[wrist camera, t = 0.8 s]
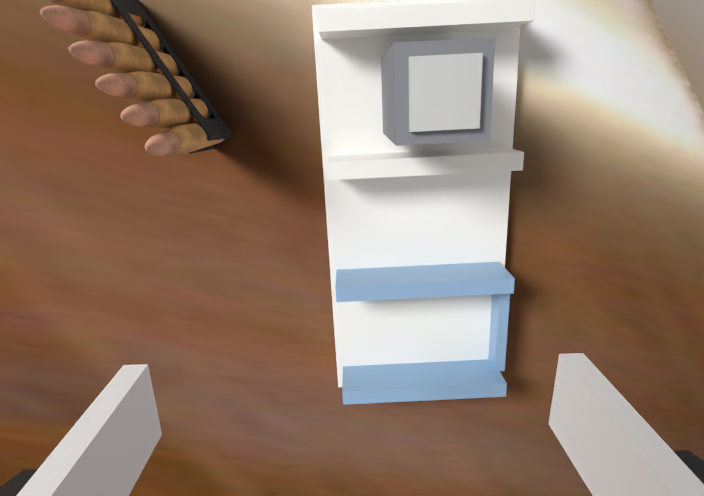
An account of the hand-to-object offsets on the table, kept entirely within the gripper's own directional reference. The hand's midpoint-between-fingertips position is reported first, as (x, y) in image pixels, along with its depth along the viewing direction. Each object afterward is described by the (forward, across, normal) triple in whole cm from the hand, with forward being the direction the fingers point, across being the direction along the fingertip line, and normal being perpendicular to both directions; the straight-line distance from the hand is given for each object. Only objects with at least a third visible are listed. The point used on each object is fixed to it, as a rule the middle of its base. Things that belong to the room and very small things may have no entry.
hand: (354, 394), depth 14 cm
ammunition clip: (+22, -12, +10) cm, 27 cm away
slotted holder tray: (+22, +5, 0) cm, 23 cm away
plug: (+21, +5, +9) cm, 23 cm away
